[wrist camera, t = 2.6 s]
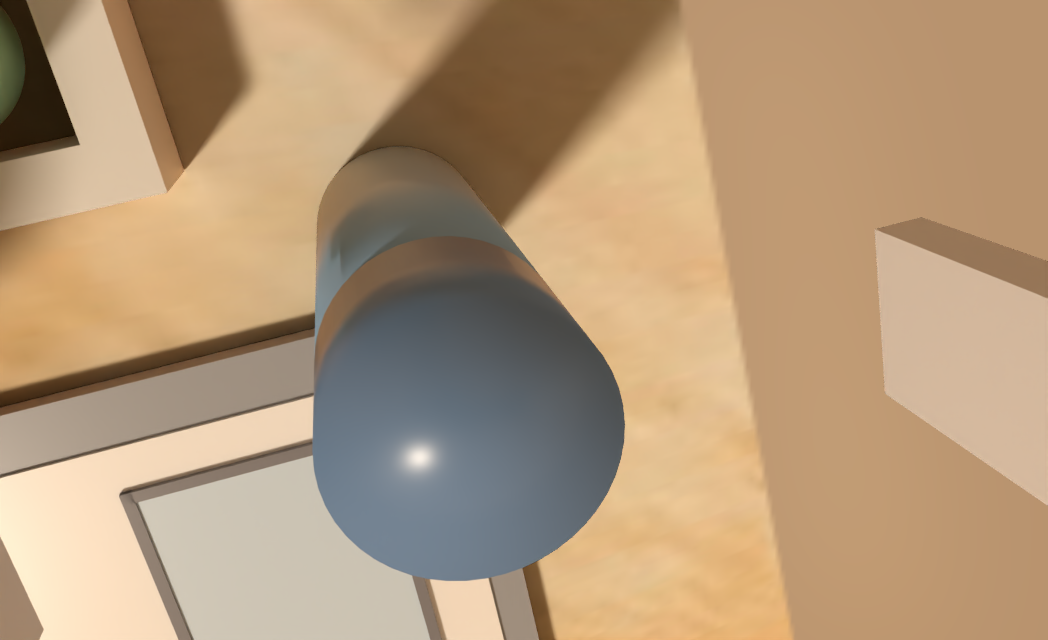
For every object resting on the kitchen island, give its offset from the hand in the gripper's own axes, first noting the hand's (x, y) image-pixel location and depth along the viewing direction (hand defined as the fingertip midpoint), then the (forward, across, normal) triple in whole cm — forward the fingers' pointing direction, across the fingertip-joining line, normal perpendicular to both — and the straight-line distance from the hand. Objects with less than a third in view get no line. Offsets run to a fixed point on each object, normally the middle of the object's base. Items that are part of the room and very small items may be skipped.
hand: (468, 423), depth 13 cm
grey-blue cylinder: (+10, 0, +1) cm, 11 cm away
